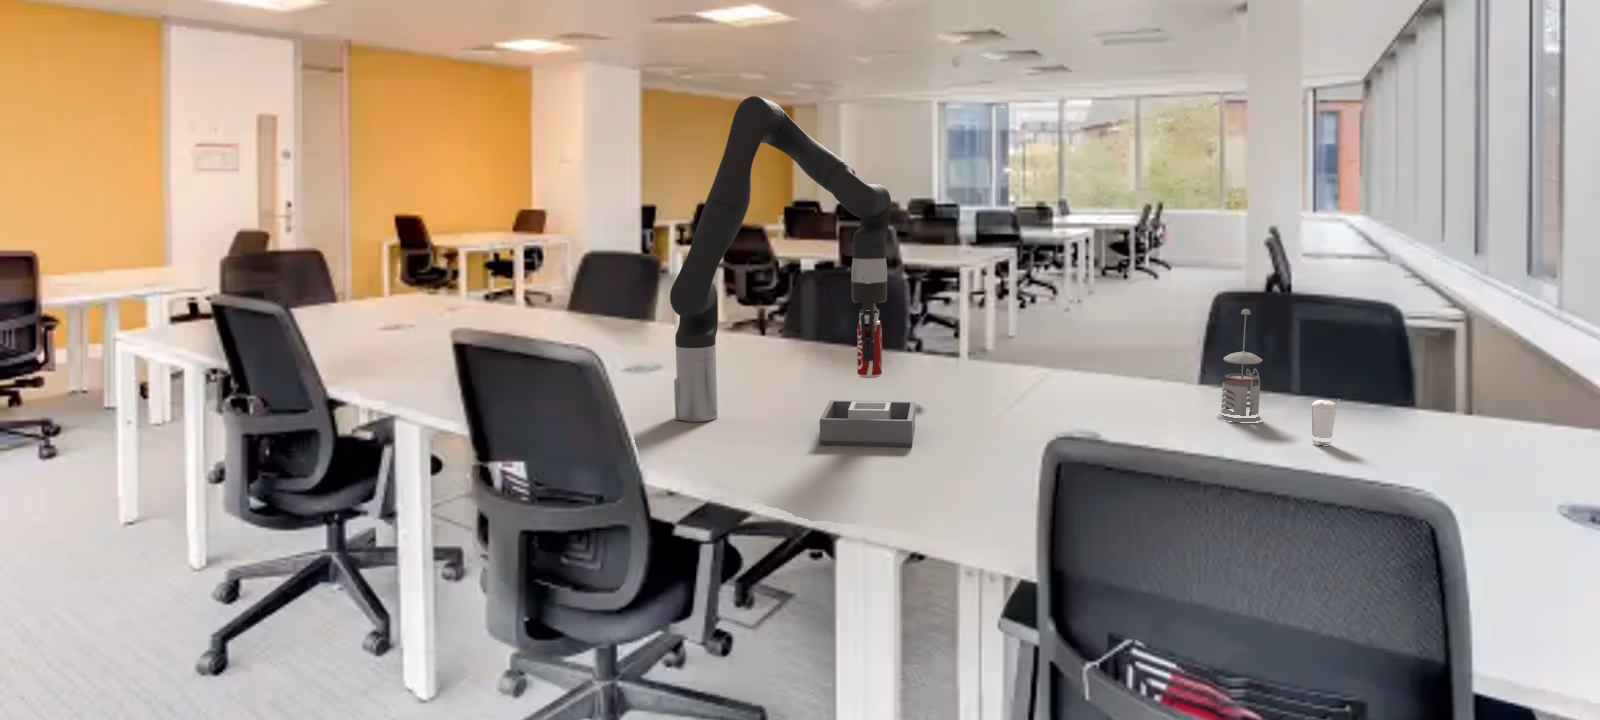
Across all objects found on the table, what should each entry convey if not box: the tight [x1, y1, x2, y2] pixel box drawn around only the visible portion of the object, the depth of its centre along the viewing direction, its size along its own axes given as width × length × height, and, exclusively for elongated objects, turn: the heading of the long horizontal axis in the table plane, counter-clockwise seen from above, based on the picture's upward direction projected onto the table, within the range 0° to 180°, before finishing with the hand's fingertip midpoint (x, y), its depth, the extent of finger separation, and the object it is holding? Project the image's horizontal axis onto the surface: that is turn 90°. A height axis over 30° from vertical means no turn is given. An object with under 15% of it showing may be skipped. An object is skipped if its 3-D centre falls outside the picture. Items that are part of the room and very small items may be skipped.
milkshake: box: [1311, 398, 1340, 446], centre depth 207 cm, size 5×5×10 cm
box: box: [819, 399, 916, 448], centre depth 221 cm, size 19×19×6 cm
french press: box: [1216, 308, 1263, 422], centre depth 229 cm, size 10×12×25 cm
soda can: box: [856, 319, 883, 379], centre depth 220 cm, size 5×5×12 cm
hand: (869, 358), depth 220 cm, fingers closed on soda can, 5 cm apart
